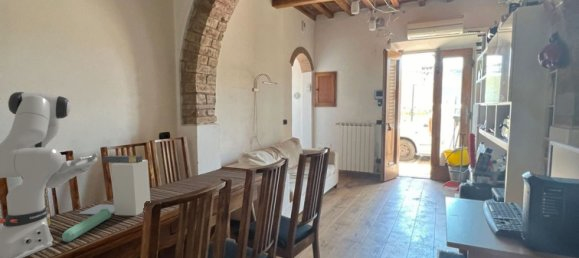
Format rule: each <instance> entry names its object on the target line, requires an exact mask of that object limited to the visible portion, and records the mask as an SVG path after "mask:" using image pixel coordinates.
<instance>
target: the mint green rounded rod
mask: <svg viewBox="0 0 579 258" xmlns="http://www.w3.org/2000/svg"><path fill="white" fill-rule="evenodd" d="M111 217H112V215H111V212H110V211H109V210H108V209H101V210H100V212H98V213H96V214H94V215H90V217H89V216H88V217H87V218H86V219H84V220H82V221H80V222H79V223H77V224H74V225H73V226H71V227H70V228H68V229H66V230H65V231H63V233H62V234H61V238H62V240H63V241H64V242H72V241H74V240H76V239H77V238H79V237H80V236H82V235H84V234H86V233H88V232H89V231H90V230H92V229H93V228H95V227H97V226H99V225H100V224H102V223H103V222H104V221H107V220H109V219H110V218H111Z"/></svg>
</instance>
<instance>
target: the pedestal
mask: <svg viewBox="0 0 579 258" xmlns="http://www.w3.org/2000/svg"><path fill="white" fill-rule="evenodd" d="M110 170H111V182H112V195H113V197H112V199H113V205H114V216H132V217H133V216H135V217H136V216H138V215H140V214H142V213H143V208H144V203H145V202H146V201H150V202H151V191H150V190H151V189H150V174H149V173H150V172H149V161H148V159H142V162H139V163H112V164H110Z"/></svg>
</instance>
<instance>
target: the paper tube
mask: <svg viewBox="0 0 579 258" xmlns="http://www.w3.org/2000/svg"><path fill="white" fill-rule="evenodd" d="M44 200H45V207H46V209H47V216H46V219H47V224H48V227H49V226H50V225H51V214H50V204H49V193H48V187H47V183H46V185H45V190H44Z"/></svg>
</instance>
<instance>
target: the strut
mask: <svg viewBox="0 0 579 258" xmlns="http://www.w3.org/2000/svg"><path fill="white" fill-rule="evenodd" d="M102 159H103V160H102V161H103V163H106V164H107V163H108V164H109V163H112V164H114V163H139V162H142V160H143V155H106V156H103V157H102Z"/></svg>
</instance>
